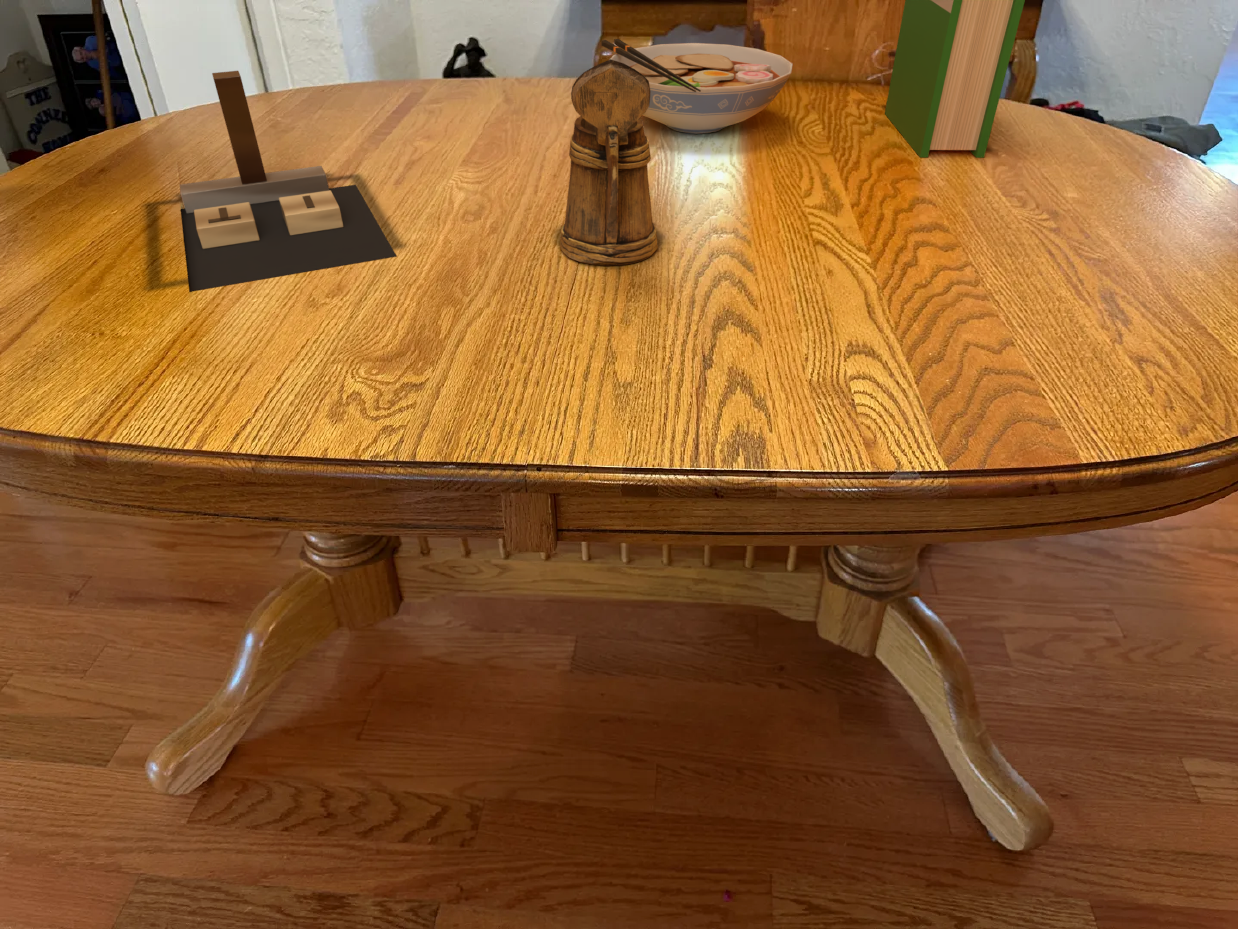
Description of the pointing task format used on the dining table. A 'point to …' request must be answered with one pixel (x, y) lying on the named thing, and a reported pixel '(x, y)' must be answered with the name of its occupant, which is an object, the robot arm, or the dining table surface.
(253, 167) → the scraper
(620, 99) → the wooden mug
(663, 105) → the ramen bowl
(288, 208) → the tile
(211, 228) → the tile
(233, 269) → the mat
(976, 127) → the hardback book
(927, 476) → the dining table surface
